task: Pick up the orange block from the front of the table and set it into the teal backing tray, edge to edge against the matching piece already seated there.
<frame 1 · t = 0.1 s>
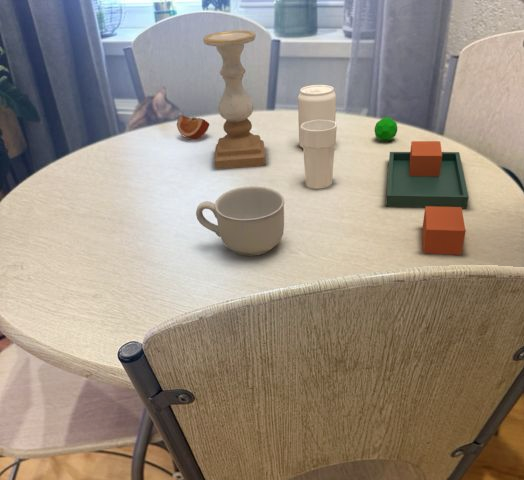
cup: (318, 184, 105), on the table
fruit slice: (195, 138, 131), on the table
teacup: (244, 247, 87), on the table
backing tray: (424, 183, 101), on the table
candle holder: (240, 159, 118), on the table
polyhedron: (384, 141, 121), on the table
orange block: (440, 241, 84), on the table
pad seated: (423, 168, 105), point 1 cm above the table, touching backing tray
beverage can: (316, 147, 121), on the table
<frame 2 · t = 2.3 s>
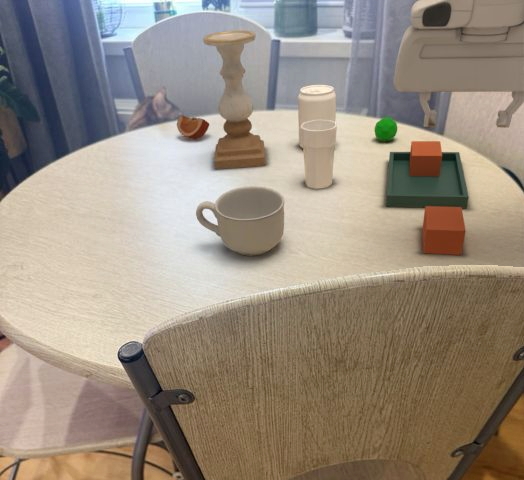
hand: (465, 126, 72), 18 cm above the table, tool pointing down, fingers open, 8 cm apart
nothing on the table moved.
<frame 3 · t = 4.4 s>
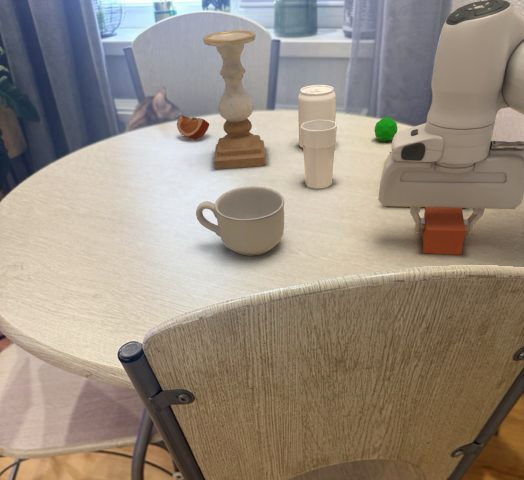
hand: (442, 231, 83), 2 cm above the table, tool pointing down, fingers closed on orange block, 5 cm apart
orange block: (440, 241, 84), on the table, touching gripper
everything else where it was.
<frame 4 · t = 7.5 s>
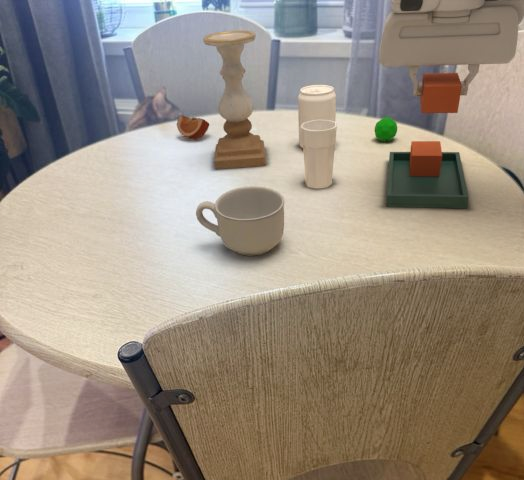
hand: (439, 95, 86), 17 cm above the table, tool pointing down, fingers closed on orange block, 5 cm apart
orange block: (438, 105, 87), point 15 cm above the table, touching gripper
everything else where it was.
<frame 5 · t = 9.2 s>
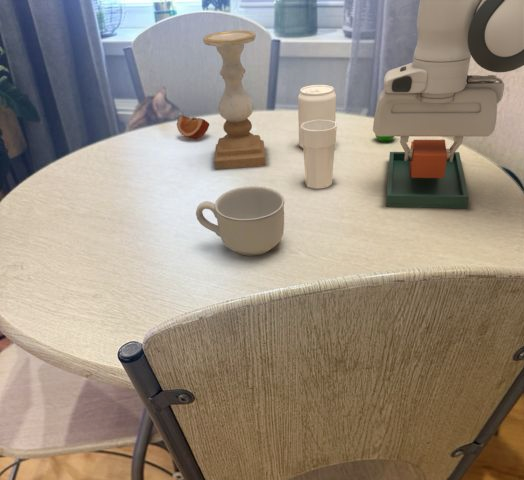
hand: (427, 160, 96), 5 cm above the table, tool pointing down, fingers closed on orange block, 5 cm apart
orange block: (426, 169, 97), point 4 cm above the table, touching gripper
everything else where it was.
when the fingers open (2 cm above the table, at t = 10.6 s): orange block stays where it is, resting on backing tray.
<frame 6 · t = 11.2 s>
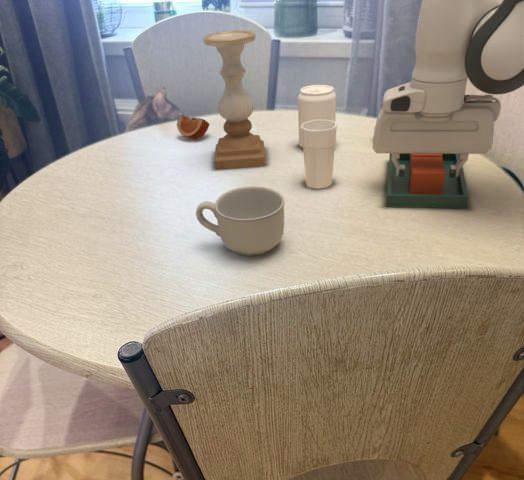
hand: (426, 176, 98), 2 cm above the table, tool pointing down, fingers open, 8 cm apart
orange block: (424, 185, 99), point 1 cm above the table, touching backing tray
everything else where it was.
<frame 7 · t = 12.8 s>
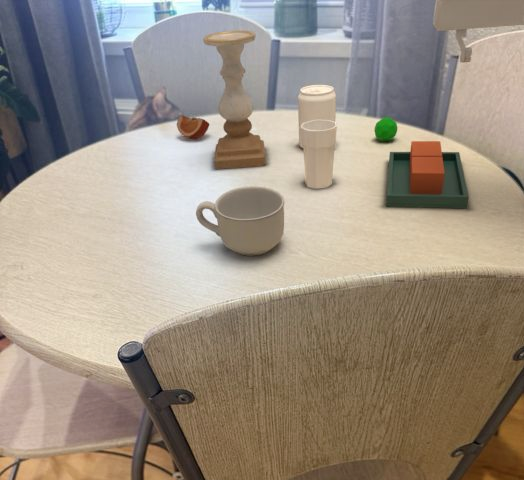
hand: (497, 59, 82), 22 cm above the table, tool pointing down, fingers open, 8 cm apart
nothing on the table moved.
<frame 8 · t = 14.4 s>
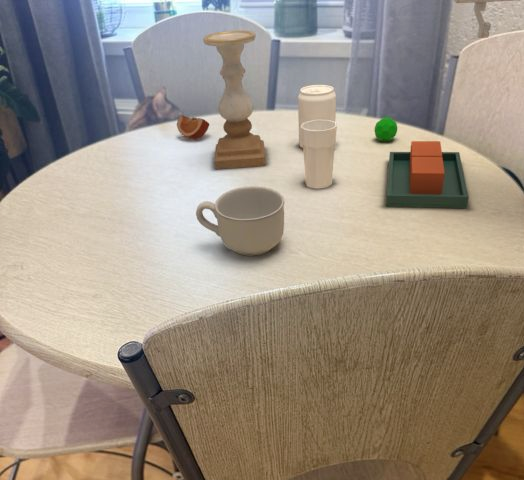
hand: (516, 36, 79), 25 cm above the table, tool pointing down, fingers open, 8 cm apart
nothing on the table moved.
at the end: orange block 0.0 cm from the target spot in the backing tray, point 0.6 cm above the backing tray's base; orange block 8.5 cm from the pad seated (horizontally); orange block tilted 0° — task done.
